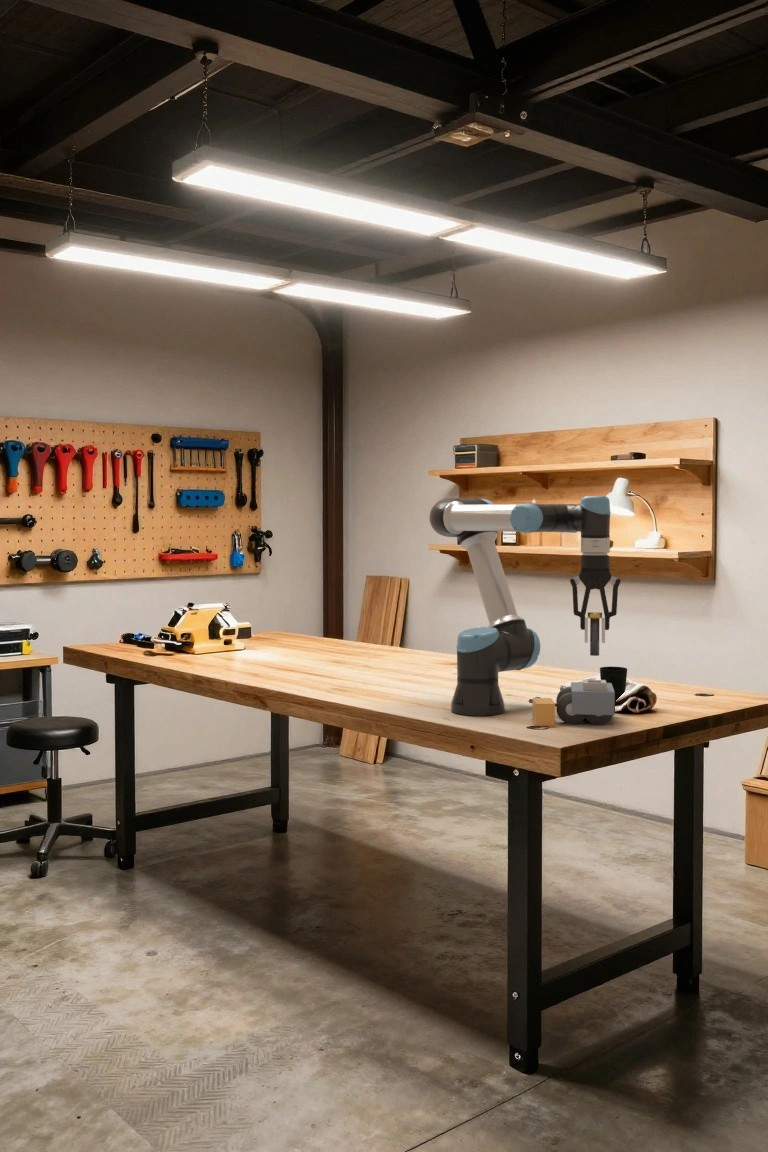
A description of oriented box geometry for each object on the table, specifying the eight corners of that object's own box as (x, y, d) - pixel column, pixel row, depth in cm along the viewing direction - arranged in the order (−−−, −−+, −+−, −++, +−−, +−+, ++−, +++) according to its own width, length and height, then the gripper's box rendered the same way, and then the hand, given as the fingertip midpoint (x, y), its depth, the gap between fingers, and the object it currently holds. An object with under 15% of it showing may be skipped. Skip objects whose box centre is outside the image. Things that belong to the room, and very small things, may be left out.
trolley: (556, 725, 271) (556, 683, 271) (556, 713, 287) (556, 674, 287) (614, 726, 269) (614, 684, 268) (611, 715, 285) (611, 675, 284)
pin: (587, 655, 272) (587, 613, 272) (587, 654, 276) (587, 611, 275) (602, 656, 272) (602, 613, 271) (601, 654, 275) (601, 611, 275)
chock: (535, 726, 271) (536, 703, 270) (532, 719, 280) (532, 697, 279) (555, 726, 270) (555, 703, 270) (551, 719, 279) (551, 697, 279)
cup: (623, 707, 296) (623, 666, 296) (630, 712, 289) (630, 670, 288) (596, 708, 296) (596, 666, 296) (603, 712, 289) (603, 670, 288)
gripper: (563, 554, 270) (562, 643, 271) (628, 554, 267) (628, 644, 269) (562, 553, 278) (562, 640, 279) (626, 553, 275) (626, 641, 276)
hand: (594, 642), depth 274 cm, fingers closed on pin, 4 cm apart
